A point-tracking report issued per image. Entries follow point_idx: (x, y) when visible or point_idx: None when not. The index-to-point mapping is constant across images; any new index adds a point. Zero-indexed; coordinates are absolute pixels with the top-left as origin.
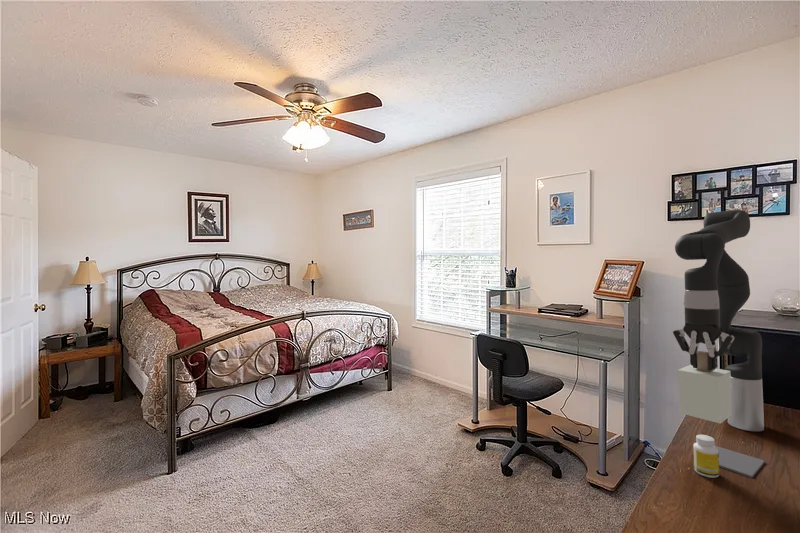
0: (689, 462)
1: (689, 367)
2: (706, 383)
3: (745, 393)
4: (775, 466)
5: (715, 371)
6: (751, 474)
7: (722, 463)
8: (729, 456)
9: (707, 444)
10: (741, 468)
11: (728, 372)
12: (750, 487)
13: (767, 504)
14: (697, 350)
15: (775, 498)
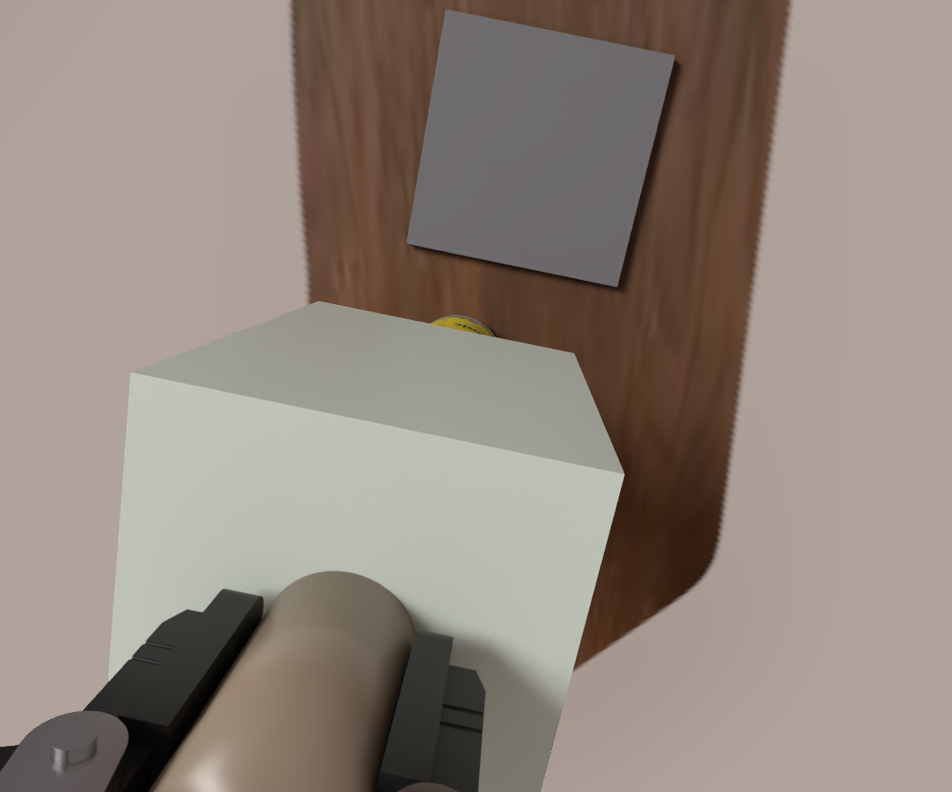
0: (385, 298)
1: (167, 579)
2: None
3: None
4: (714, 70)
5: (463, 619)
6: (616, 274)
7: (507, 236)
8: (530, 121)
9: None
10: (579, 236)
11: (602, 550)
12: (608, 379)
13: (655, 479)
14: (112, 777)
15: (684, 413)
